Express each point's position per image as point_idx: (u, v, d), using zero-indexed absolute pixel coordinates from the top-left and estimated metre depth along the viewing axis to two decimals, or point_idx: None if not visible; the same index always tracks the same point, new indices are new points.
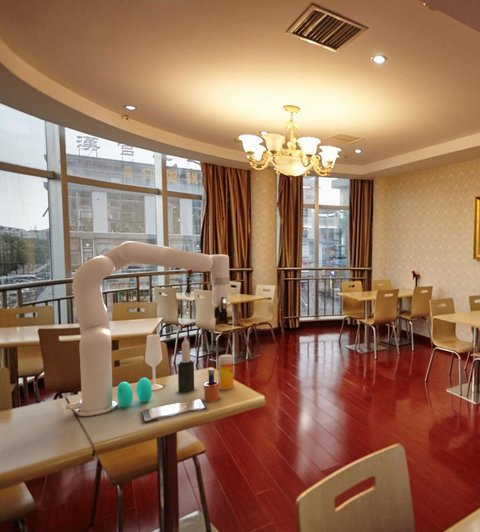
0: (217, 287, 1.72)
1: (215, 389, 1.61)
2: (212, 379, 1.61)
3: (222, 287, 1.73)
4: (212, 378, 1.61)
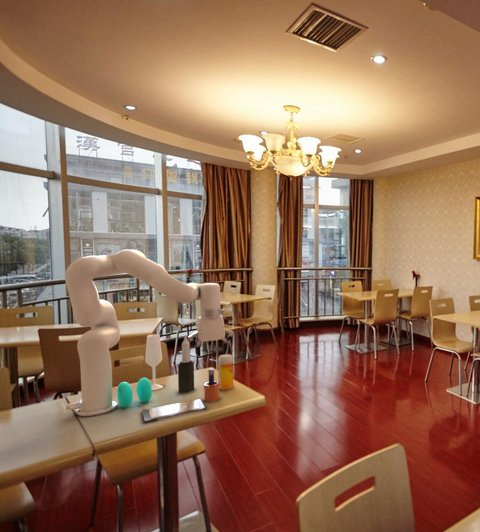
0: None
1: (215, 389, 1.61)
2: (212, 379, 1.61)
3: (198, 320, 1.59)
4: (212, 378, 1.61)
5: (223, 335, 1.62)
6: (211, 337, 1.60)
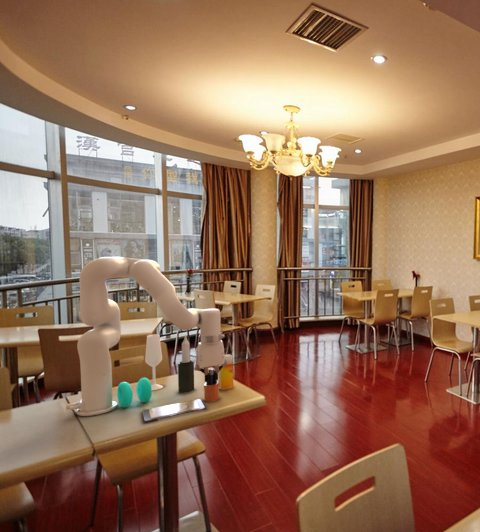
0: None
1: (215, 389, 1.61)
2: (212, 379, 1.61)
3: (198, 346, 1.59)
4: (212, 378, 1.61)
5: (223, 361, 1.63)
6: (211, 363, 1.60)
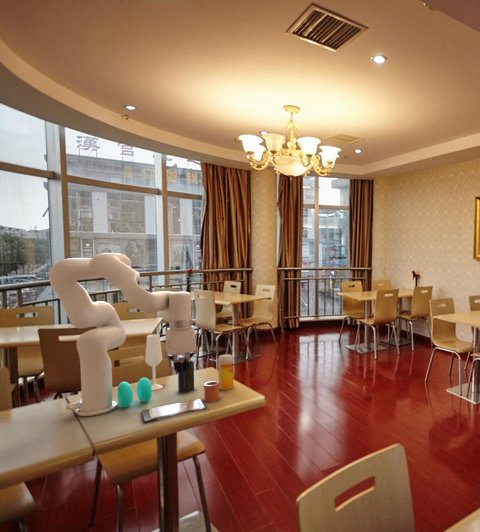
0: None
1: (215, 389, 1.61)
2: (182, 367, 1.50)
3: (166, 331, 1.47)
4: (182, 366, 1.50)
5: (194, 347, 1.51)
6: (180, 350, 1.48)
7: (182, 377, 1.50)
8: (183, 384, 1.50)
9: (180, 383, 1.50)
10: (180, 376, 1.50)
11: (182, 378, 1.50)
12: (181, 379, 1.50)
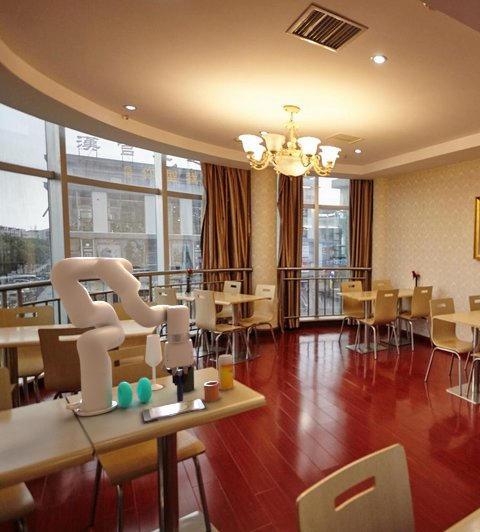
0: None
1: (215, 389, 1.61)
2: (180, 380, 1.52)
3: (165, 345, 1.49)
4: (180, 379, 1.52)
5: (192, 361, 1.53)
6: (178, 363, 1.51)
7: (180, 390, 1.52)
8: (181, 397, 1.52)
9: (178, 396, 1.52)
10: (178, 389, 1.52)
11: (180, 391, 1.52)
12: (179, 392, 1.52)
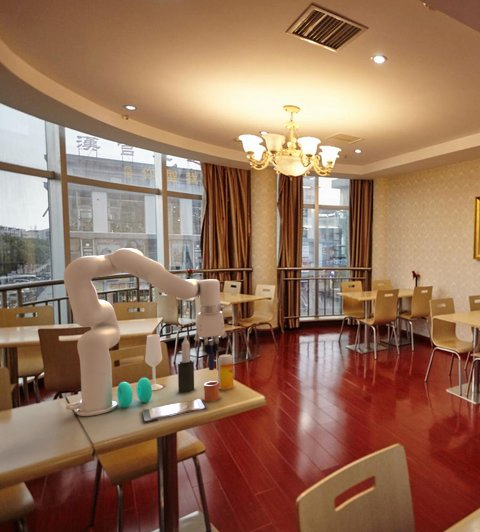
0: None
1: (215, 389, 1.61)
2: (212, 349, 1.61)
3: (198, 316, 1.58)
4: (212, 349, 1.61)
5: (222, 331, 1.62)
6: (210, 333, 1.59)
7: (212, 359, 1.61)
8: (213, 366, 1.61)
9: (210, 364, 1.61)
10: (210, 358, 1.61)
11: (212, 360, 1.61)
12: (211, 361, 1.61)
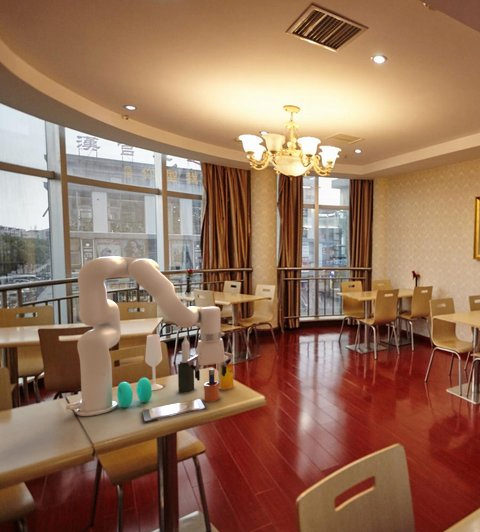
0: None
1: (215, 389, 1.61)
2: (212, 379, 1.61)
3: (198, 344, 1.59)
4: (212, 378, 1.61)
5: (222, 359, 1.63)
6: (210, 361, 1.60)
7: None
8: None
9: None
10: None
11: None
12: None
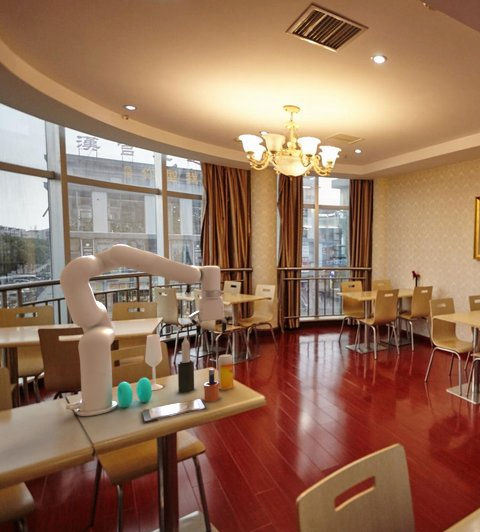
0: None
1: (215, 389, 1.61)
2: (212, 379, 1.61)
3: (199, 300, 1.67)
4: (212, 378, 1.61)
5: (222, 315, 1.70)
6: (211, 317, 1.68)
7: None
8: None
9: None
10: None
11: None
12: None
